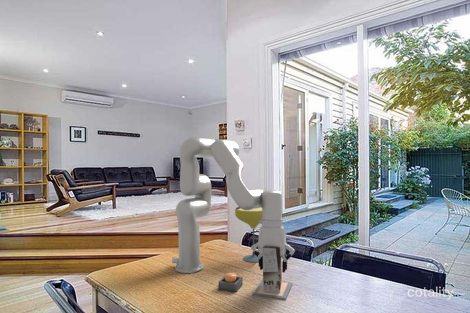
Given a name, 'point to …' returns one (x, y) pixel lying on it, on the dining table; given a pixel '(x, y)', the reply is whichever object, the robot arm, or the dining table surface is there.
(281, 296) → the picture board
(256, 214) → the cocktail glass
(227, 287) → the button housing
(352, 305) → the dining table surface
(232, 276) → the button
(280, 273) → the coffee box
